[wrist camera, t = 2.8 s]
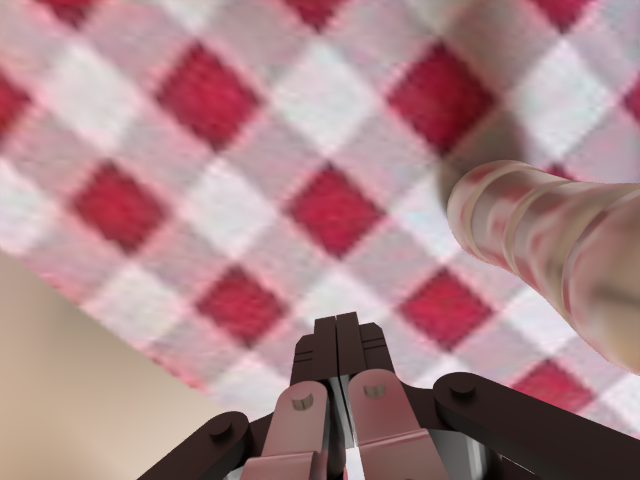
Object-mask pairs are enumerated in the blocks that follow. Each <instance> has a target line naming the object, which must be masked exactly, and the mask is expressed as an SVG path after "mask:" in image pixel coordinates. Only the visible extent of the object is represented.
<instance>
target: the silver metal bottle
mask: <svg viewBox="0 0 640 480" xmlns="http://www.w3.org/2000/svg"><path fill="white" fill-rule="evenodd" d="M447 219H448V223H449V227H450V229H451V231H452V234H453V235H454V237H455V239H456V240H457V242H458V243H459V245H460V246H461V247H462V248H463V249H464V250H465V251H466V252H467V253H468V254H470V255H471V256H473V257H475V258H477V259H479V260H481V261H484V262H486V263H489V264H492V265H495V266H499V267H501V268H503V269H505V270H507V271H509V272H511V273H513V274H515V275H516V276H518V277H520V278H521V279H522V280H523V281H525V282H526V283H527V284H528V285H530V286H531V287H532V288H533V289H534V290H535V291H537V292H538V293H539V294H540V295H541V296H543V297H544V298H545V299H546V300H547V301H548V302H549V303H550V305H551V306H552V307H553V308H554V309H555V310H556V311H557V312H558V313H559V314H560V315H561V316H562V317H563V319H564V320H565V321H566V322H567V323H568V324H569V325H570V326H571V327H572V328H573V329H574V330H575V331H576V332H577V333H578V335H579V336H580V337H581V338H582V339H583V340H584V341H586V342H587V343H588V344H589V345H590V346H591V347H592V348H593V349H594V350H595V351H597V352H598V353H599V354H600V355H601V356H602V357H603V358H605V359H606V360H607V361H608V362H610V363H612V364H614V365H616V366H617V367H619V368H621V369H623V370H626V371H628V372H631V373H633V374H636V375H638V376H640V183H619V184H604V183H593V182H581V181H570V180H567V179H564V178H560V177H557V176H554V175H550V174H547V173H545V172H544V171H542V170H540V169H538V168H537V167H534V166H532V165H529V164H526V163H523V162H520V161H517V160H507V159H506V160H497V161H493V162H489V163H485V164H482V165H479V166H477V167H475V168H473V169H471V170H470V171H468V172H467V173H466V174H465V175H463V176H462V178H461V179H460V180H459V181H458V182H457V183H456V185H455V187H454V188H453V190H452V192H451V195H450V197H449V200H448V206H447Z"/></svg>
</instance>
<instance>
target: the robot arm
mask: <svg viewBox="0 0 640 480" xmlns="http://www.w3.org/2000/svg"><path fill="white" fill-rule="evenodd" d="M336 319H337V321H336ZM293 362H294V364H293V367H292V374H291V380H290V387H289V388H287V389H286V390H285V391H284V392H283V393H282V394H281V395H280V396H279V398H278V400H277V404H276V407H275V410H274V412H272V413H271V414H269V415H267V416H265V417H262V418H260V419H258V420H255V421H253V422H250V423H249V421H248V418H247V416H246V415H245V414H243V413H241V412H237V411H231V412H225V413H222V414H220V415H217V416H215V417H213V418H212V419H210V420H209V421H208V422H206V423H205V424H204V425H203V426H201V427H200V428H199V429H198V430H196V431H195V432H194V433H193V434H192V435H190V436H189V437H188V438H187V439H185V440H184V441H183V442H182V443H181V444H179V445H178V446H177V447H176V448H174V449H173V450H172V451H171V452H170V453H168V454H167V455H166V456H165V457H164V458H162V459H161V460H160V461H159V462H157V463H156V464H155V465H154V466H153V467H151V468H150V469H149V470H148V471H146V472H145V473H144V474H143V475H142V476H140V477H139V478H138V479H137V480H348V474H347V469H346V465H345V464H346V450H345V449H348V448H354V439H353V434H354V438H355V442H356V446H357V447H359V452H360V457H361V462H362V467H363V472H364V477H365V480H640V440H638V439H636V438H633V437H631V436H628V435H626V434H623V433H621V432H618V431H616V430H613V429H611V428H608V427H606V426H603V425H601V424H598V423H596V422H593V421H591V420H588V419H586V418H583V417H581V416H578V415H576V414H573V413H571V412H568V411H566V410H563V409H561V408H558V407H556V406H553V405H551V404H548V403H546V402H543V401H541V400H538V399H536V398H533V397H531V396H528V395H526V394H523V393H521V392H519V391H516V390H514V389H511V388H509V387H506V386H504V385H501V384H499V383H496V382H494V381H491V380H489V379H486V378H484V377H481V376H479V375H476V374H472V373H467V372H454V373H449V374H446V375H444V376H442V377H440V378H439V379H438V380H437V381H436V382H435V383H434V385H433V389H423V388H416V387H412V386H409V385H407V384H405V383H403V382H402V381H400V380H399V378H398V377H397V376H396V374H395V371H394V368H393V364H392V361H391V358H390V354H389V351H388V348H387V344H386V341H385V338H384V334H383V331H382V328H380V327H379V326H378V325H376V324H375V323H374V322H372V323H367V324H362V325H359V322H358V318H357V313H356V312H351V313H346V314H341V315H336V317H335V316H331V317H325V318H320V319H315V326H314V334H310V335H305V336H302V338H301V339H300V340H299V342H298V343H297V344H296V348H295V356H294V361H293ZM503 456H504V457H503ZM505 457H506V458H505ZM507 458H508V459H509V460H508V459H507ZM510 460H511V461H510ZM512 461H513V462H512ZM514 462H515V463H514ZM516 463H517V464H518V465H517V464H516ZM519 465H520V466H519ZM521 466H522V467H521ZM523 467H524V468H523ZM526 469H527V470H526ZM528 470H529V471H528ZM530 471H531V472H530ZM532 472H533V473H534V474H533V473H532ZM535 474H536V475H535Z"/></svg>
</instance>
